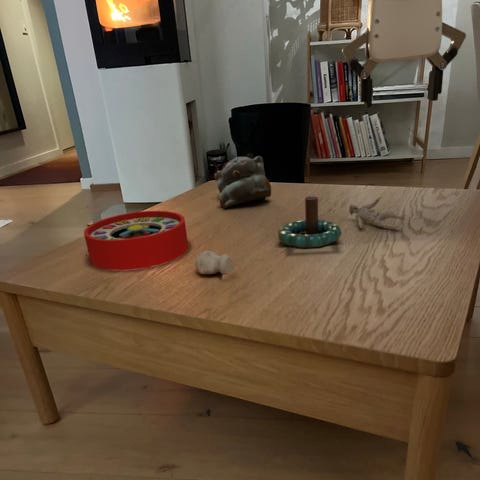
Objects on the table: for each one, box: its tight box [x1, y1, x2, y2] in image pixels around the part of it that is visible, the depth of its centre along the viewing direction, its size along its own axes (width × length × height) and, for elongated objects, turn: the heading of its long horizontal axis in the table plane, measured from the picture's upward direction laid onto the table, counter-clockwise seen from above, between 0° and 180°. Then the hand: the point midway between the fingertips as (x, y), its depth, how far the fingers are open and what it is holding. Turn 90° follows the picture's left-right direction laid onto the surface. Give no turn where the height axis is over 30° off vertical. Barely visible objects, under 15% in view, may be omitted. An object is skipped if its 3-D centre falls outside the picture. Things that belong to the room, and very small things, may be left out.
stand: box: [288, 196, 338, 249], centre depth 91 cm, size 9×9×9 cm
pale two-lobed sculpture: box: [194, 250, 235, 276], centre depth 83 cm, size 4×8×5 cm
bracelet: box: [277, 219, 342, 249], centre depth 92 cm, size 12×12×2 cm
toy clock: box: [83, 210, 189, 272], centre depth 96 cm, size 20×6×20 cm
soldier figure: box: [348, 196, 406, 231], centre depth 100 cm, size 8×5×12 cm
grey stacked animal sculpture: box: [214, 152, 272, 209], centre depth 125 cm, size 15×12×14 cm
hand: (399, 103), depth 73 cm, fingers open, 9 cm apart
